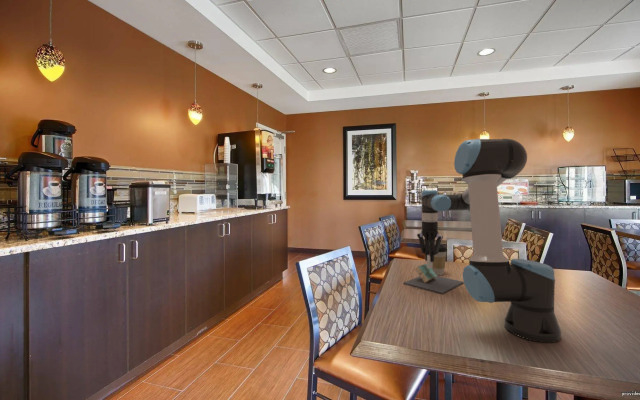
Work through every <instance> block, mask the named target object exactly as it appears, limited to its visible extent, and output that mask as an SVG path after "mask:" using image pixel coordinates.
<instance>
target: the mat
mask: <svg viewBox="0 0 640 400" xmlns="http://www.w3.org/2000/svg"><path fill="white" fill-rule="evenodd" d="M463 284H464V281H463V280H462V281H461V280H458V279H452V278H447V277H444V276H443V277H442V276H440V275H437V277H436V278H435V279H433V280H431V281H428V282H426V283H425V282H424V281H423V280H422V278H421V277H420V276H417V277H414V278H412V279H409V280H407V281H403V285H405V286H409V287H413V288H417V289H421V290H424V291H429V292H432V293H436V294H440V295H444V294H447V293H449V292H451V291H452V290H453V289H456V288H457V287H460V286H462V285H463Z"/></svg>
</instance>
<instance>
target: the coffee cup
mask: <svg viewBox="0 0 640 400" xmlns="http://www.w3.org/2000/svg"><path fill="white" fill-rule="evenodd" d="M447 252H448V249H447V247H446V246H444V245H440V247H439V251H438V254H436V255H434V262H433V268H431V269H432V270H433V271H434V273H435V274H436V275H437V276H443V275H444V274H445V268H446V260H447Z"/></svg>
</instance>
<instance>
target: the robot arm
mask: <svg viewBox="0 0 640 400" xmlns="http://www.w3.org/2000/svg"><path fill="white" fill-rule="evenodd" d="M527 161H528V153H527V151H526V149H525V146H524V145H522V143H520V142H519V141H517V140H514V139H513V138H475V139H467V140H464V141H463V142H462V143H460V145H459V146H458V148H457V150H456V152H455V155H454V163H453V165H454V170H455V172H456V173H457V174H458V175H462V181H463V182H464V183H466V184H467V187H466V189H465V190H464V191H463V192H462V193H457V194H456V193H455V194H453V193H452V194H451V193H449V194H439V193H438V190H437V189H436V190H435V189H427V190H425V189H424V190H422V191H421V232H420V233H417V234H416V236H417V237H418V240H419V245H420V250H421V253H422V254H424V255H425V261H426V263H427V268H429V269H430V268H433V262H434V255H436V254H438V251H439V247H440V246H441V242H442V240H443V239H444V236H443V235H441V234H439V231H438V227H439V225H438V224H439V223H438V220H439V219H438V217H439V214H438V213H439V212H446V211H449V212H452V211H469V212H470V213H469V215H470V226H471V239H472V250H473V254H472V256H471V257H469V259H468V265H466V266H464V267H463V270H462V279H463V280H462V282H464V283H463V284H464V287H465V289H466V291H467V293H468V294H469V296H470V297H471V298H472V299H473V300H475V301H476V302H479V303H489V304H493V303H501V302H502V303H506V302H507V303H510V306H509V308H508V309H507V312H506V315H505V317H504V328H505V327H506V328H505V330H507V331H508V330H509V331H510V332H509V331H508V332H509V333H511V332H512V333H514V334H516V335H519V336H521V337H524V338H528V339H531V340H530V341H532V340H535V341H534V342H537V341H542V342H541V343H546V342H551V343H555V342H554V341H557V342H559V341H560V340H561V339H562V330H561V327H560V324H559V321H558V319H557V316H556V314H555V289H556V288H555V284H556V283H555V282H556V277H555V269H554V267H552V266H550V265H549V264H546V263H542V262H540V261H535V260H529V259H523V258H512V259H511V261H510V259H508V258H507V257H506V256H505V255H504V248H503V236H502V227H501V226H502V225H501V217H500V214H501V213H500V205H499V193H498V187H499V186H500V185H501V184H503V183H504V182H505V181H506V180H509V179H510V180H511V179H513V178H515V177H516V176H518V175H519V173H521V172H522V170H523V169H524V168H525V166H526V165H527ZM512 333H511V334H512ZM514 334H513V335H514ZM516 335H515V336H516ZM519 336H518V337H519ZM521 337H520V338H521ZM524 338H523V339H524ZM560 338H561V339H560ZM528 339H527V340H528ZM559 339H560V340H559ZM558 340H559V341H558Z"/></svg>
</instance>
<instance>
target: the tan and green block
mask: <svg viewBox="0 0 640 400" xmlns="http://www.w3.org/2000/svg"><path fill="white" fill-rule="evenodd" d="M414 271H416V273H417V275H419V276H420V277H421V278H422V280H423V281H424V282H425V283H426V282H428V281H431V280H433V279H435V278H436V277H437V276H438V275H436V274H435V273H434V271H433V270H432V269H431V268H430V269H429V268H427V262H426V263H424V264H420V265H418V266H417V267H415V269H414ZM419 276H418V277H419Z"/></svg>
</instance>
